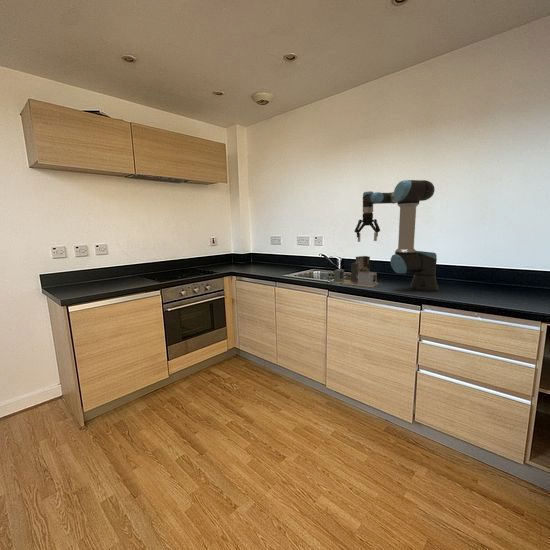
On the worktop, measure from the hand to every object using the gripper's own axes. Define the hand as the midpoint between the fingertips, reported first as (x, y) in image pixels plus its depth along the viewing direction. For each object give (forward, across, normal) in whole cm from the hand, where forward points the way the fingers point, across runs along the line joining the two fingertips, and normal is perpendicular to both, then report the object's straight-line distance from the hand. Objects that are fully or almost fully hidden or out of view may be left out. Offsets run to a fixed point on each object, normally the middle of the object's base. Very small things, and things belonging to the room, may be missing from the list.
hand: (367, 241), depth 218 cm
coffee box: (+28, +2, -2) cm, 28 cm away
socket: (+28, +28, +11) cm, 41 cm away
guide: (+28, +20, +20) cm, 40 cm away
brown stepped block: (+26, +18, +23) cm, 39 cm away
